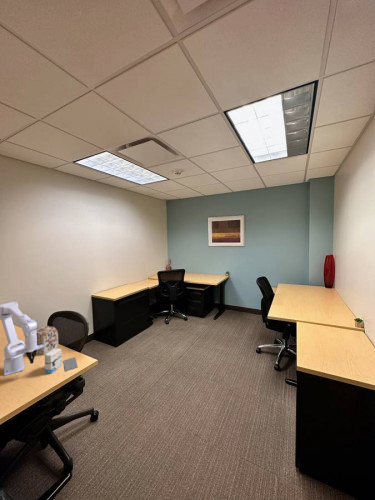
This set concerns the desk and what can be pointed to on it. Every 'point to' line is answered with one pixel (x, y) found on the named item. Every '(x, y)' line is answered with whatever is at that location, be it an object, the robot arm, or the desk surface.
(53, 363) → the ink box
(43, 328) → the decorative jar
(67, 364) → the mat
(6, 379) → the desk surface
